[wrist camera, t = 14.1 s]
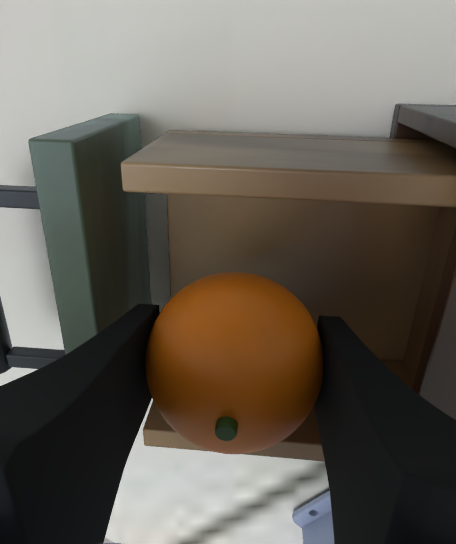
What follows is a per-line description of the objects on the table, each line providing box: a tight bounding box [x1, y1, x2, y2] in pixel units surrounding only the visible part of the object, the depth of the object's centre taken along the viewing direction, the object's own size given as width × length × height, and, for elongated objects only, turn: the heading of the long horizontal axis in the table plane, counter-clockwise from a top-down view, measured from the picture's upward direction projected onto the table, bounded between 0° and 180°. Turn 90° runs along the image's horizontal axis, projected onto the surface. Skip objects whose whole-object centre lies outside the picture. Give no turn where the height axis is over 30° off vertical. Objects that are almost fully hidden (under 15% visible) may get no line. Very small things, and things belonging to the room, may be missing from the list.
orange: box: [145, 272, 324, 454], centre depth 12 cm, size 5×5×5 cm
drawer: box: [0, 113, 456, 461], centre depth 16 cm, size 18×11×6 cm, turn 89°
